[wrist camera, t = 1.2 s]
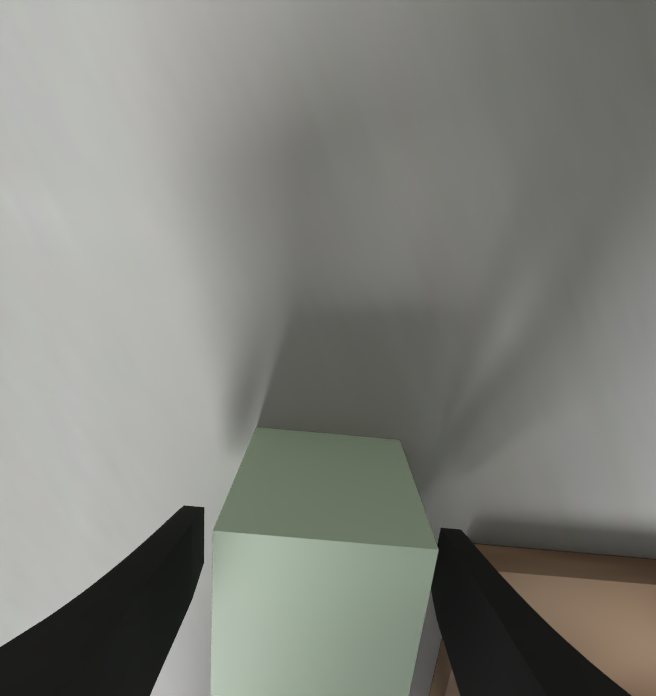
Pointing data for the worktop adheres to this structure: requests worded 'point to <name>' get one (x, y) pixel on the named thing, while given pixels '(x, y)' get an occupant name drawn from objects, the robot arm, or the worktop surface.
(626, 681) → the cutting board
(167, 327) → the worktop surface
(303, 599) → the green cube
